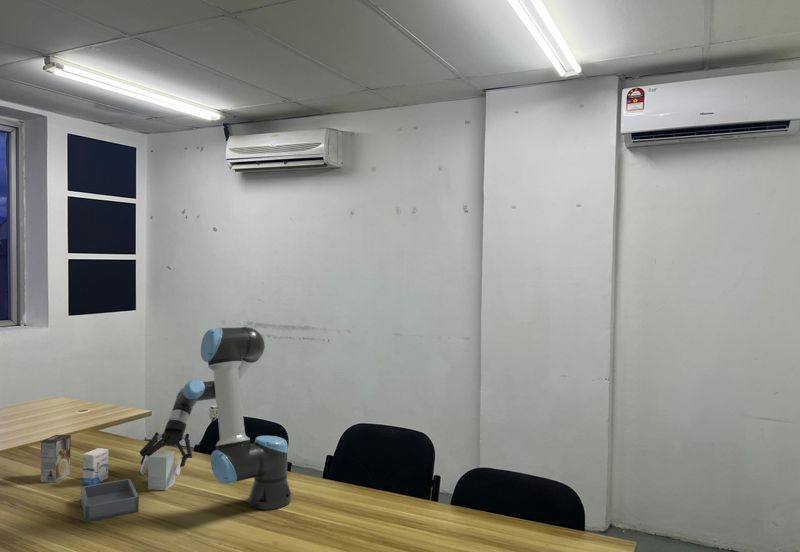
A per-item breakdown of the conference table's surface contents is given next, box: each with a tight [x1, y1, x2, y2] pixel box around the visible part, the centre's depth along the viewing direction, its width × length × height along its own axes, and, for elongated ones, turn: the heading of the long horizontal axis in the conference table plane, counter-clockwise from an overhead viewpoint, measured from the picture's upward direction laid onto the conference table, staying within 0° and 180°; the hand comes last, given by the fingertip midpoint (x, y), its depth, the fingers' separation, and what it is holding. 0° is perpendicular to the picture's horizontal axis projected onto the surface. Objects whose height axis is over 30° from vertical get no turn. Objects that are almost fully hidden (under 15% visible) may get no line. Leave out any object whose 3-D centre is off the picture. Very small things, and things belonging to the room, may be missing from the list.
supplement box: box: [147, 450, 176, 491], centre depth 214 cm, size 7×7×13 cm
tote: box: [80, 478, 140, 523], centre depth 195 cm, size 20×16×5 cm
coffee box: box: [40, 434, 72, 483], centre depth 219 cm, size 9×6×16 cm
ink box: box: [82, 447, 109, 486], centre depth 217 cm, size 9×5×12 cm, turn 168°
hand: (159, 473), depth 212 cm, fingers open, 13 cm apart
